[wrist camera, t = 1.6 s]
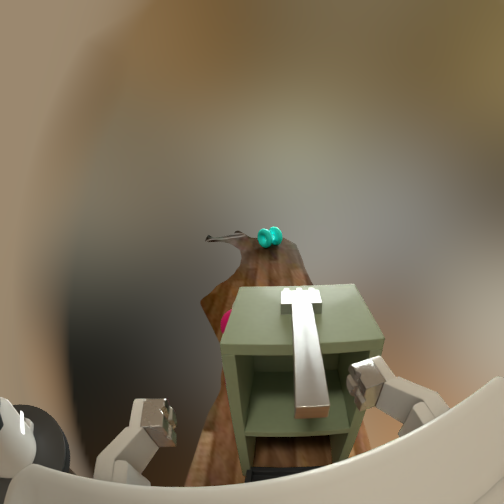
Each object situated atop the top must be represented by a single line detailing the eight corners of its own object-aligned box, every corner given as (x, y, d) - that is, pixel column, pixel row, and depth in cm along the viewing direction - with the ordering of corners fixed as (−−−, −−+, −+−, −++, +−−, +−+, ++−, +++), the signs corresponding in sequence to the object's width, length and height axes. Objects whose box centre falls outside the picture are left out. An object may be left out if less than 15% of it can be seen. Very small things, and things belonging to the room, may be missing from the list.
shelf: (242, 475, 29) (219, 343, 22) (251, 418, 40) (239, 286, 33) (341, 473, 27) (385, 338, 20) (333, 416, 39) (354, 283, 32)
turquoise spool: (256, 246, 146) (255, 228, 144) (271, 243, 152) (270, 225, 149) (269, 250, 139) (268, 230, 136) (283, 246, 144) (283, 227, 142)
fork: (344, 416, 13) (347, 403, 13) (277, 419, 14) (277, 407, 13) (316, 292, 31) (316, 282, 30) (281, 293, 31) (280, 283, 31)
